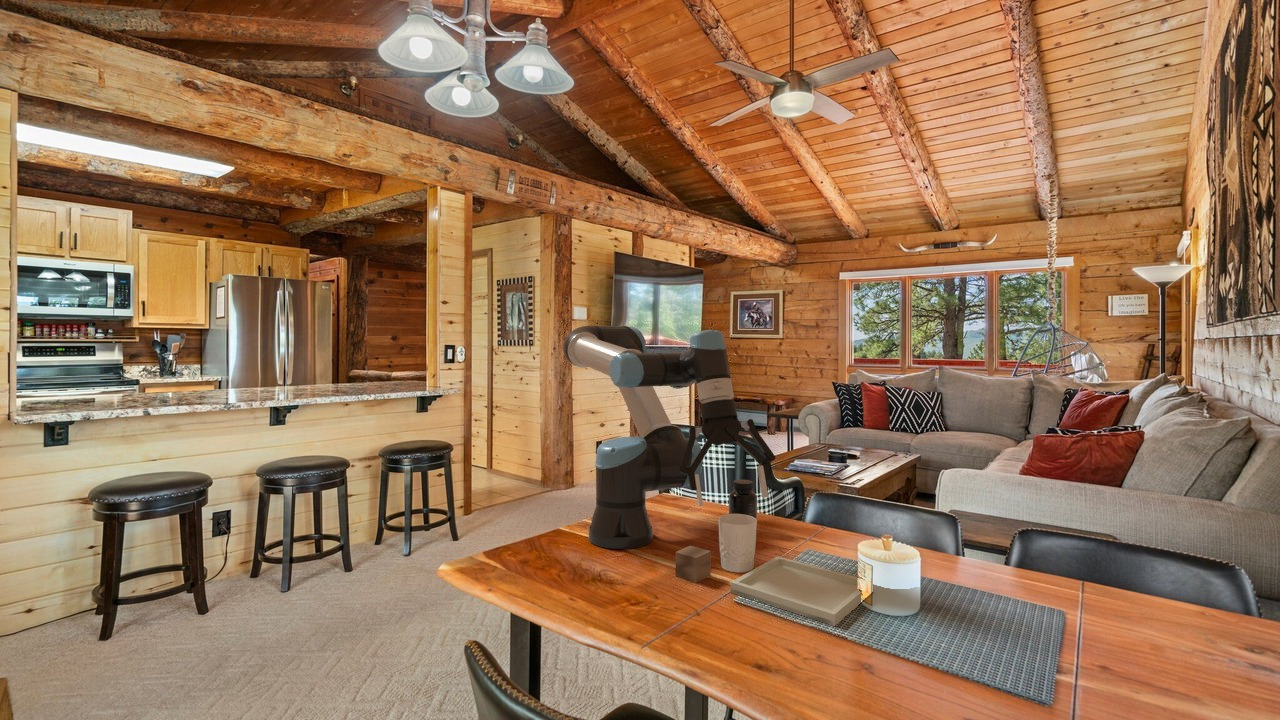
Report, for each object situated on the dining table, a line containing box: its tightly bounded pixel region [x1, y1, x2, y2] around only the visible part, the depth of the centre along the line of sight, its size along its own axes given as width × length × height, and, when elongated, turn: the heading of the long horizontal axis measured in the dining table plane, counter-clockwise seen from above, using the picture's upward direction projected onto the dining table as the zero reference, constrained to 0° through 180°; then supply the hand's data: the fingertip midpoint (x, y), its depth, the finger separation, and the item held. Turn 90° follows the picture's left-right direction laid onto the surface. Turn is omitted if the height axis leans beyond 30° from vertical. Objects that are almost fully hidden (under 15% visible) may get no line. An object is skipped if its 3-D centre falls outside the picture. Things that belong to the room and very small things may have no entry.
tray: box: [730, 555, 862, 627], centre depth 114 cm, size 20×18×2 cm
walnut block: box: [674, 545, 712, 584], centre depth 121 cm, size 5×5×5 cm
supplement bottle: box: [728, 479, 758, 520], centre depth 151 cm, size 7×7×12 cm
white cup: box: [717, 513, 758, 573], centre depth 126 cm, size 8×8×10 cm
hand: (733, 502), depth 127 cm, fingers open, 13 cm apart
